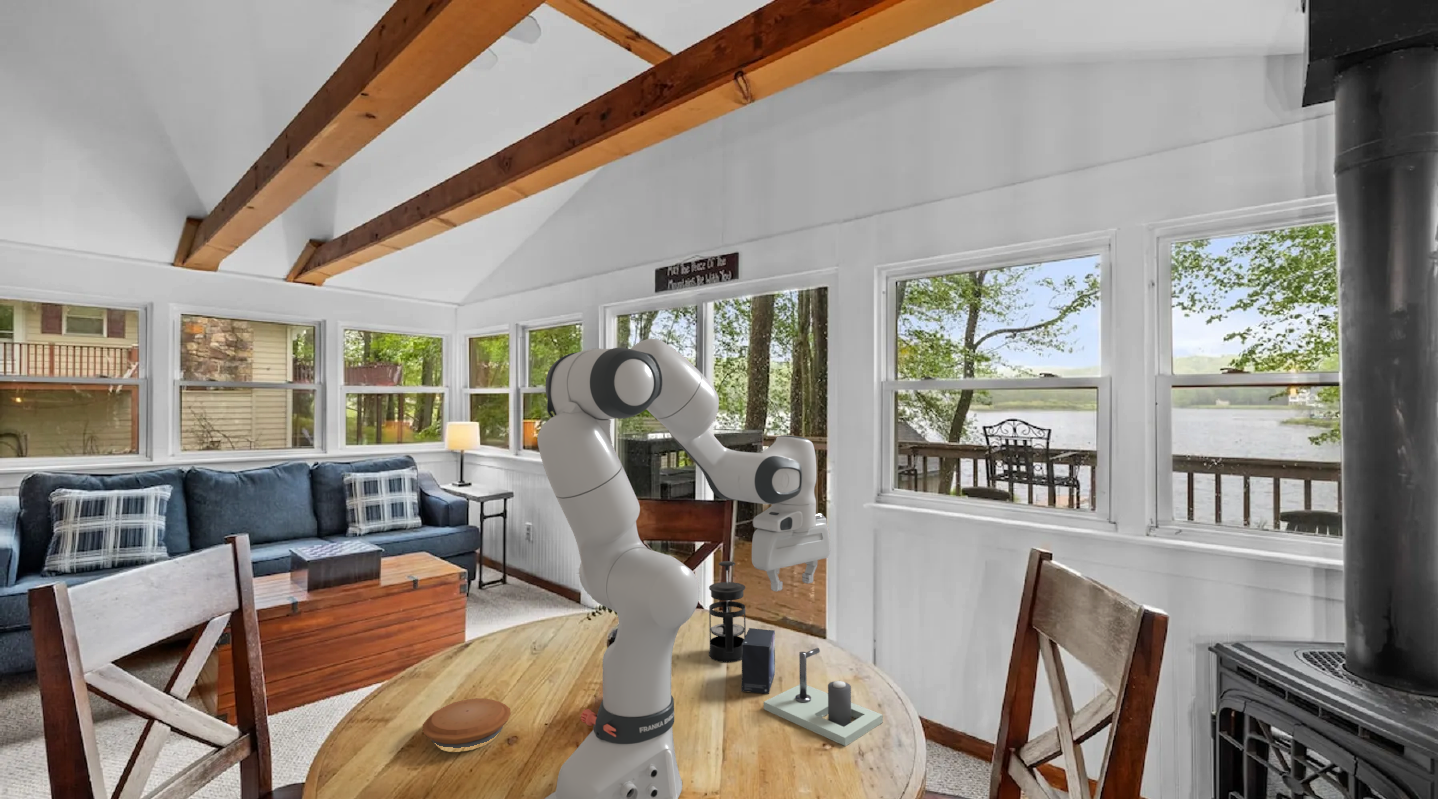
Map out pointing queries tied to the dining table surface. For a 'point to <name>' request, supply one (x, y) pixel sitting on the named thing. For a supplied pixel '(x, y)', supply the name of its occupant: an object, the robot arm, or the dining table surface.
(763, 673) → the small box
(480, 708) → the pie
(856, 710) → the pale green board
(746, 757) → the dining table surface
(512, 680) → the dining table surface
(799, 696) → the grey angled rod part
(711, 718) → the dining table surface
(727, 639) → the french press
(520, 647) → the dining table surface
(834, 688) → the grey cylinder with ball
